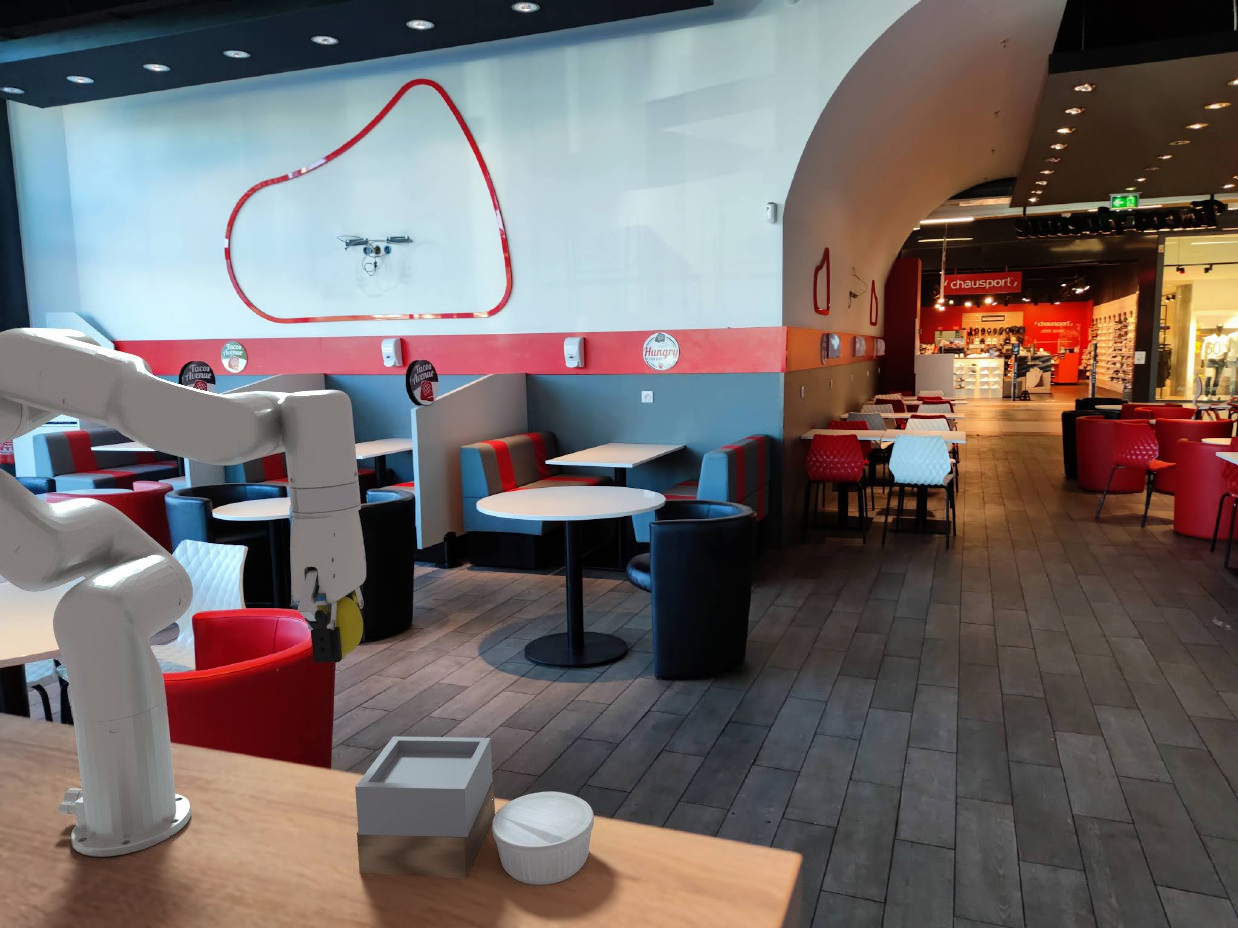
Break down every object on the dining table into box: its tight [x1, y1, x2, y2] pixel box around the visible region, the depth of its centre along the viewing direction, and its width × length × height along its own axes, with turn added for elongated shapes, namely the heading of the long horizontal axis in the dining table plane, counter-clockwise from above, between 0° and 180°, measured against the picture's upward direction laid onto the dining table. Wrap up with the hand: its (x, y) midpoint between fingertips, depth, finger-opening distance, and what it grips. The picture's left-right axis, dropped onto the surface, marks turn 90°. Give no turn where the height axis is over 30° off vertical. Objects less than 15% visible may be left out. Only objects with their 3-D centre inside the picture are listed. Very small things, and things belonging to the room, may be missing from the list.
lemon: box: [318, 596, 364, 660], centre depth 100 cm, size 6×6×8 cm
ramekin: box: [491, 791, 595, 886], centre depth 95 cm, size 11×11×5 cm
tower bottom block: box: [356, 781, 496, 880], centre depth 99 cm, size 12×12×5 cm
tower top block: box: [354, 736, 494, 837], centre depth 98 cm, size 12×12×6 cm
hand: (340, 649), depth 100 cm, fingers closed on lemon, 5 cm apart
